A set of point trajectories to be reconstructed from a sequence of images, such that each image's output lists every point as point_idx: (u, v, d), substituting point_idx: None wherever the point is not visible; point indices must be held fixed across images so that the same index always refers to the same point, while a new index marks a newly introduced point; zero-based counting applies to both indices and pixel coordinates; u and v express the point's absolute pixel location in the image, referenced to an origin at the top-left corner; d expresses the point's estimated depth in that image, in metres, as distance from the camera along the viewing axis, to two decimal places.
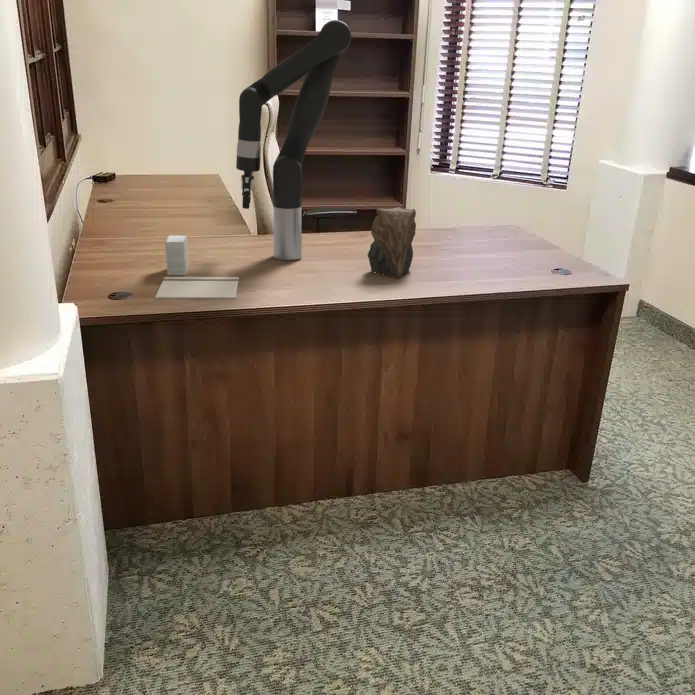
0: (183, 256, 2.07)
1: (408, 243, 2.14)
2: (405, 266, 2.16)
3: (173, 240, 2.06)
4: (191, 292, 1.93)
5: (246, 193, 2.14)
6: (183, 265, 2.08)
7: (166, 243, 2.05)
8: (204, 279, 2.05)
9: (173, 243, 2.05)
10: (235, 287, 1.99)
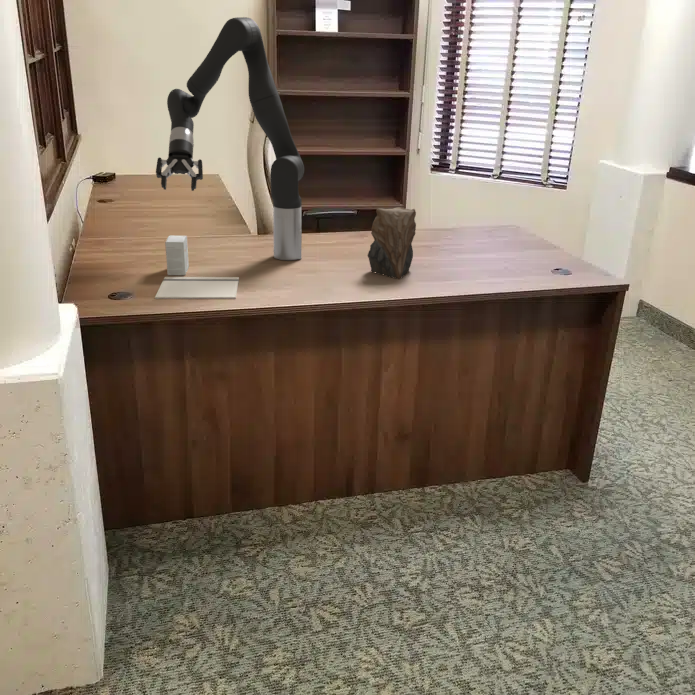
0: (183, 256, 2.07)
1: (408, 243, 2.14)
2: (405, 266, 2.16)
3: (173, 240, 2.06)
4: (191, 292, 1.93)
5: None
6: (183, 265, 2.08)
7: (166, 243, 2.05)
8: (204, 279, 2.05)
9: (173, 243, 2.05)
10: (235, 287, 1.99)
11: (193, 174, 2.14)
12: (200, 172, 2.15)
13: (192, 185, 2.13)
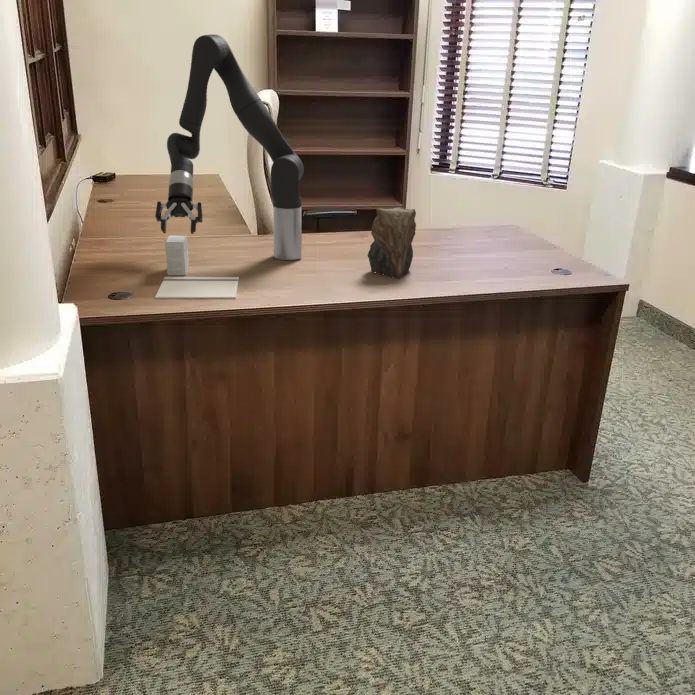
0: (183, 256, 2.07)
1: (408, 243, 2.14)
2: (405, 266, 2.16)
3: (173, 240, 2.06)
4: (191, 292, 1.93)
5: None
6: (183, 265, 2.08)
7: (166, 243, 2.05)
8: (204, 279, 2.05)
9: (173, 243, 2.05)
10: (235, 287, 1.99)
11: (192, 217, 2.14)
12: (199, 215, 2.15)
13: (191, 228, 2.13)
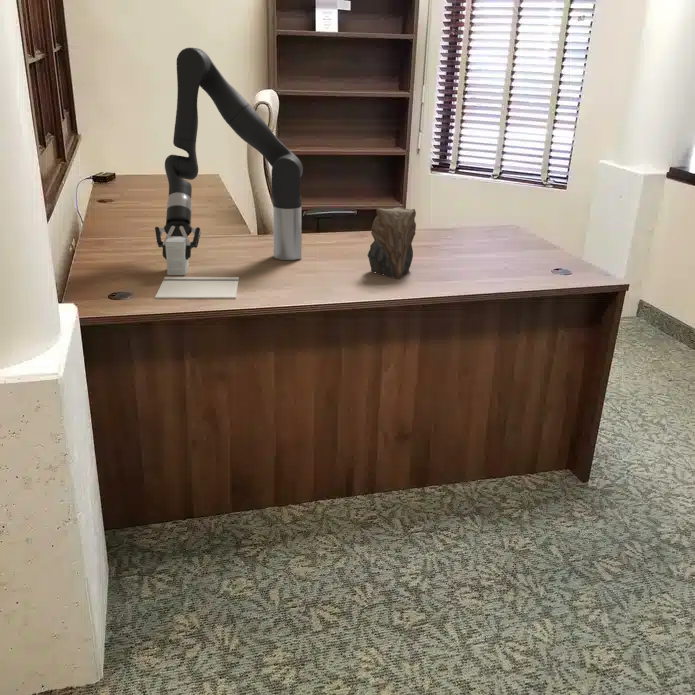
0: (183, 256, 2.07)
1: (408, 243, 2.14)
2: (405, 266, 2.16)
3: (173, 240, 2.06)
4: (191, 292, 1.93)
5: None
6: (183, 265, 2.08)
7: (166, 243, 2.05)
8: (204, 279, 2.05)
9: (173, 243, 2.05)
10: (235, 287, 1.99)
11: (187, 242, 2.10)
12: (195, 240, 2.10)
13: (186, 254, 2.08)
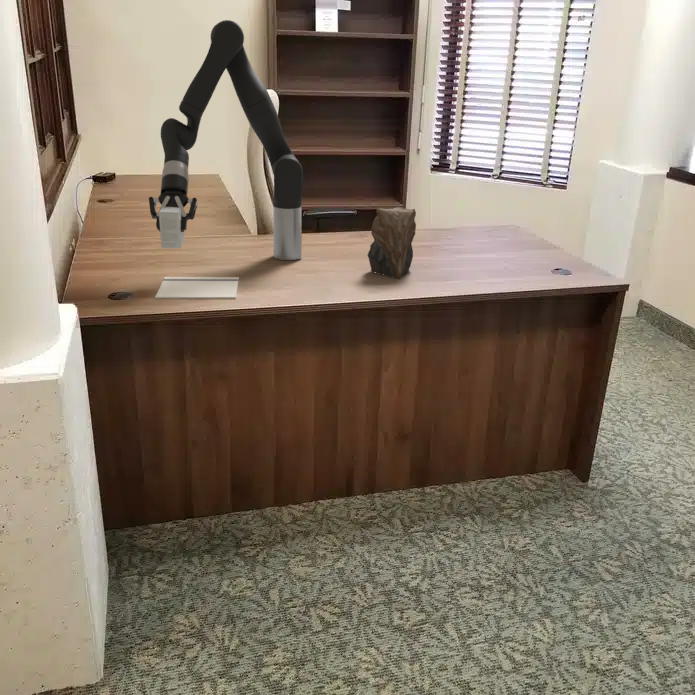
0: (178, 228, 1.92)
1: (408, 243, 2.14)
2: (405, 266, 2.16)
3: (167, 210, 1.92)
4: (191, 292, 1.93)
5: None
6: (178, 237, 1.94)
7: (160, 213, 1.91)
8: (204, 279, 2.05)
9: (167, 213, 1.91)
10: (235, 287, 1.99)
11: (183, 214, 1.95)
12: (191, 211, 1.96)
13: (181, 226, 1.94)
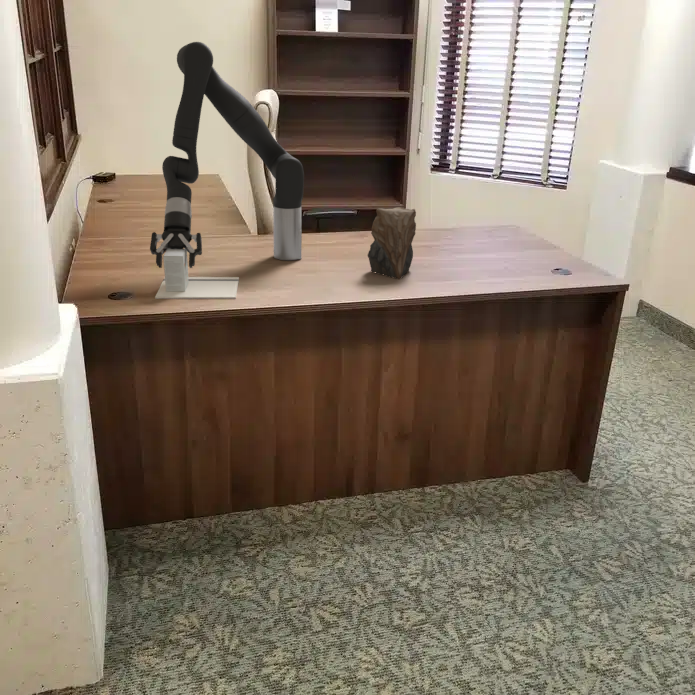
0: (183, 271, 1.91)
1: (408, 243, 2.14)
2: (405, 266, 2.16)
3: (172, 254, 1.91)
4: (191, 292, 1.93)
5: None
6: (183, 280, 1.92)
7: (164, 257, 1.89)
8: (204, 279, 2.05)
9: (172, 257, 1.89)
10: (235, 287, 1.99)
11: (191, 250, 1.94)
12: (199, 247, 1.94)
13: (190, 262, 1.93)
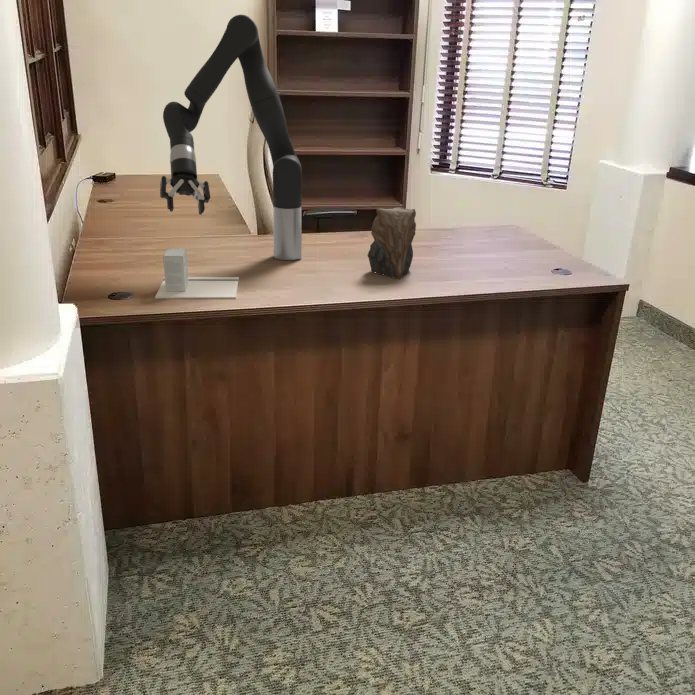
0: (183, 271, 1.91)
1: (408, 243, 2.14)
2: (405, 266, 2.16)
3: (172, 254, 1.91)
4: (191, 292, 1.93)
5: (161, 193, 1.99)
6: (183, 280, 1.92)
7: (164, 257, 1.89)
8: (204, 279, 2.05)
9: (172, 257, 1.89)
10: (235, 287, 1.99)
11: (201, 197, 2.03)
12: (208, 195, 2.04)
13: (201, 209, 2.02)
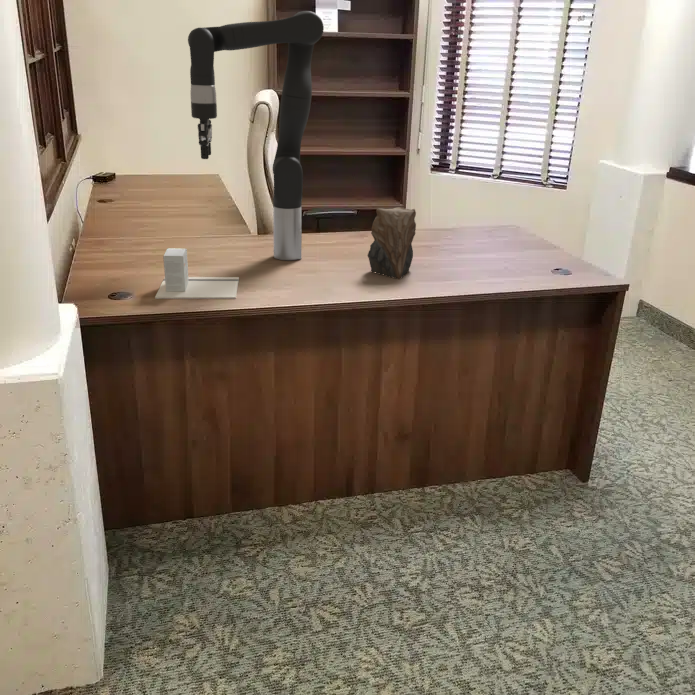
0: (183, 271, 1.91)
1: (408, 243, 2.14)
2: (405, 266, 2.16)
3: (172, 254, 1.91)
4: (191, 292, 1.93)
5: (203, 141, 2.02)
6: (183, 280, 1.92)
7: (164, 257, 1.89)
8: (204, 279, 2.05)
9: (172, 257, 1.89)
10: (235, 287, 1.99)
11: (210, 139, 2.13)
12: None
13: None
